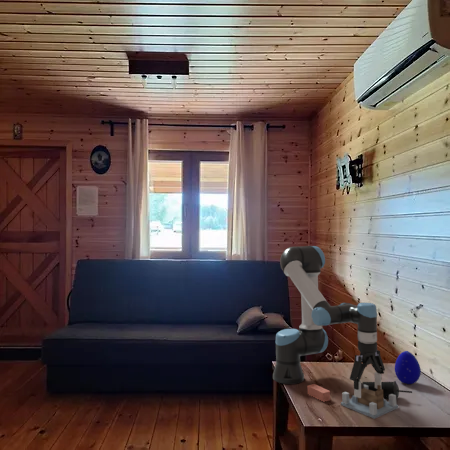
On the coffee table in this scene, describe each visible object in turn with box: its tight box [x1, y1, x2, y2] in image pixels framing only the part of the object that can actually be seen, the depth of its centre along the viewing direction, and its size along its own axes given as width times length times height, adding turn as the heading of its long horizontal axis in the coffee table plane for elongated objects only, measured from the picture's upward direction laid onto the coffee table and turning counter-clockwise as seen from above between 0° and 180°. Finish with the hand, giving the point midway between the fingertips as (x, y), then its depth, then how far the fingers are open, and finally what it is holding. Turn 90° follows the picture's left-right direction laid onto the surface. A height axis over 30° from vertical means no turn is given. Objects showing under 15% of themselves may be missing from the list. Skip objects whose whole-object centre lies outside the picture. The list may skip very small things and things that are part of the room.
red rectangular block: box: [306, 383, 331, 403], centre depth 178 cm, size 10×4×4 cm, turn 30°
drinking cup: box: [362, 381, 413, 401], centre depth 176 cm, size 8×8×20 cm
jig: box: [340, 384, 399, 420], centre depth 168 cm, size 16×16×5 cm
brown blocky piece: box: [358, 382, 384, 409], centre depth 168 cm, size 10×4×9 cm, turn 39°
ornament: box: [394, 350, 422, 385], centre depth 192 cm, size 11×9×15 cm
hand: (368, 392), depth 168 cm, fingers open, 13 cm apart
